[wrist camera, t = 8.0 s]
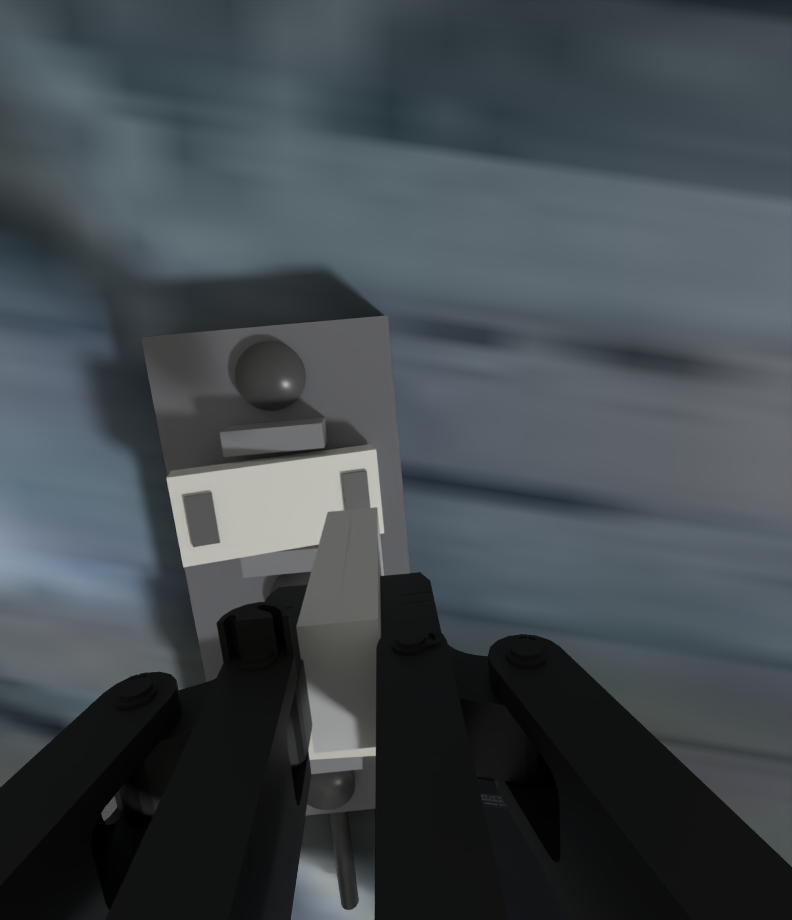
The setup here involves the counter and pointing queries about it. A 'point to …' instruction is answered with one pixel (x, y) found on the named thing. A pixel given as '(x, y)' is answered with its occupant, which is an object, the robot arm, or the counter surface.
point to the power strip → (271, 435)
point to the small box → (518, 864)
